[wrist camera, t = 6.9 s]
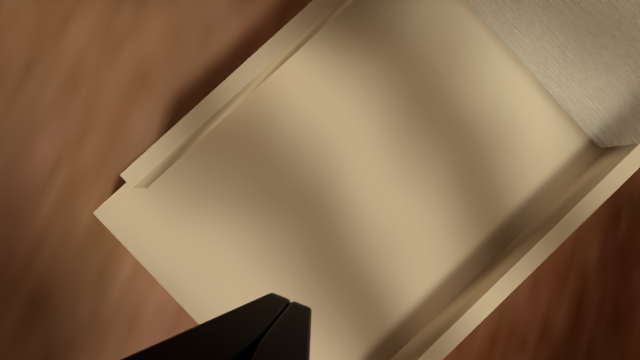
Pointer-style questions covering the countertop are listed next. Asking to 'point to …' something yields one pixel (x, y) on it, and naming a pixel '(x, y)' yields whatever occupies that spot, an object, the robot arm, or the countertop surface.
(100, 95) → the countertop surface
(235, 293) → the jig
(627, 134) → the white square slab
